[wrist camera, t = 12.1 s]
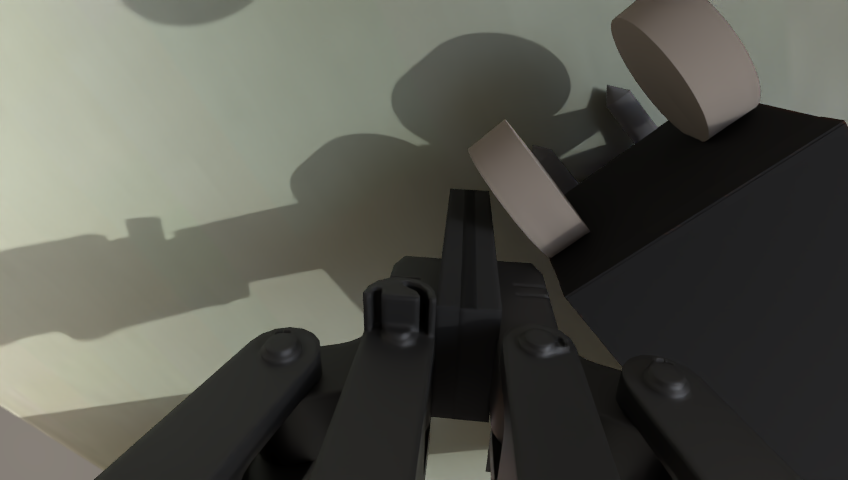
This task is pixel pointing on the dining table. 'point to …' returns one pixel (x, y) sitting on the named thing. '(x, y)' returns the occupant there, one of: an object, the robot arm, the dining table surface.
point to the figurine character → (705, 231)
